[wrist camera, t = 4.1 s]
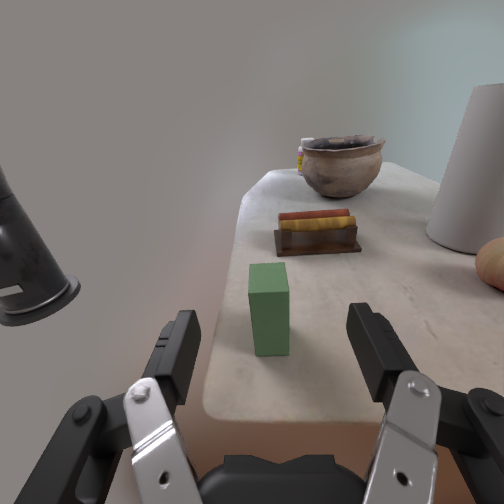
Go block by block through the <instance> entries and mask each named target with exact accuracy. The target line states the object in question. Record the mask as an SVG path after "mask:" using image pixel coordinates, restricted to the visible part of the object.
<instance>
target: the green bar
mask: <svg viewBox="0 0 504 504" xmlns="http://www.w3.org/2000/svg"><path fill="white" fill-rule="evenodd" d="M248 296H249V304H250V313H251V321H252V329H253V338H254V346H255V354H256V356H284V355H289V286H288V280H287V274H286V268H285V263H284V262H279V263H261V264H250V269H249V287H248Z"/></svg>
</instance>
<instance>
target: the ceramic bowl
mask: <svg viewBox="0 0 504 504" xmlns="http://www.w3.org/2000/svg"><path fill="white" fill-rule="evenodd" d="M384 143H385V139H384V138H382V139H380V140H379V141H378V142H377V143H375V139H374V137H373V136H364V135H355V136H347V137H333V138H321V139H316V140H312V141H309V142H306V143H305V144H303V145H302V146H301V147H302V150H303V152H304V157H303V160H302V174H303V177H304V178H305V180H306V182H307V183H308V185H309V186H310V187H312V188H313V189H314V190H315V191H316V192H318V193H319V194H322V195H325V196H330V197H349V196H354V195H356V194H358V193H360V192H361V191H363V190H365V189H366V188H367V187H368V186H369V185H370V184H371V183H372V182H373V180H374V179H375V178H376V177H377V175H378V173H379V171H380V168H381V164H382V155H381V149H382V147H383V144H384Z"/></svg>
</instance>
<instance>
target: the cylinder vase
mask: <svg viewBox="0 0 504 504" xmlns="http://www.w3.org/2000/svg"><path fill="white" fill-rule="evenodd" d="M426 233H427V235H428V236H429V238H430V239H432V240H433V241H434V242H436V243H438V244H440V245H442V246H444V247H447V248H449V249H453V250H456V251H460V252H465V253H471V254H478V252H479V251H480V249H481V248H482V247H483V246H484V245H486V244H487V243H488V242H490V241H492V240H494V239H497V238H501V237H504V83H503V84H492V85H483V86H474V87H473V90H472V93H471V96H470V99H469V102H468V105H467V108H466V111H465V114H464V117H463V120H462V123H461V126H460V129H459V132H458V135H457V138H456V141H455V144H454V147H453V150H452V153H451V156H450V158H449V161H448V164H447V167H446V170H445V173H444V177H443V179H442V183H441V185H440V188H439V191H438V194H437V197H436V200H435V203H434V206H433V209H432V212H431V215H430V218H429V221H428V224H427V227H426Z"/></svg>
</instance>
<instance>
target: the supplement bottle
mask: <svg viewBox="0 0 504 504" xmlns="http://www.w3.org/2000/svg"><path fill="white" fill-rule="evenodd" d="M312 140H314V138H304V139H301V143H302V145H303V144H305V143H306V142H309V141H312ZM303 157H304V152H303V150H302V147H301V146H300V147H299V149H298V174H299V175H303V174H302V160H303Z"/></svg>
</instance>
